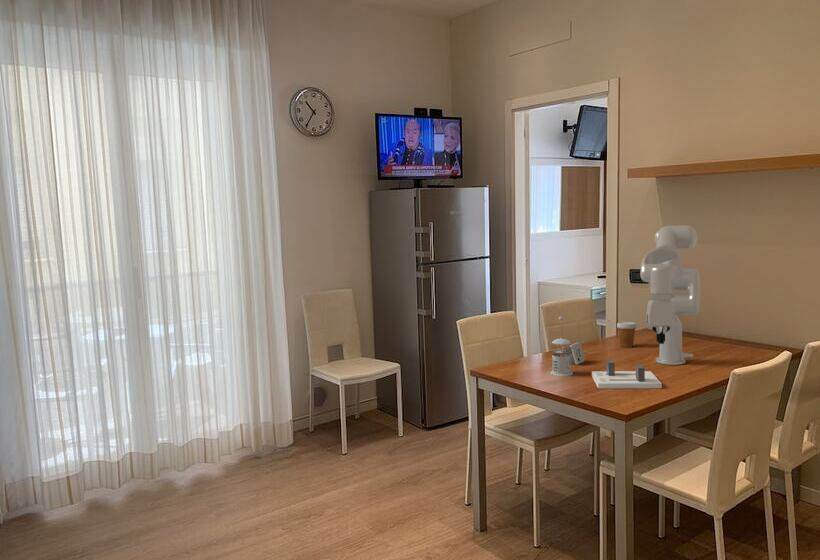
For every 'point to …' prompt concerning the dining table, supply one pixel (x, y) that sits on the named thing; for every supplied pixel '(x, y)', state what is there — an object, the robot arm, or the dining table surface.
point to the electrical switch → (576, 353)
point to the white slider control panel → (623, 378)
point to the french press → (561, 358)
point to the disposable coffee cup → (626, 333)
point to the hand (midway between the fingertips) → (660, 343)
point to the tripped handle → (640, 373)
